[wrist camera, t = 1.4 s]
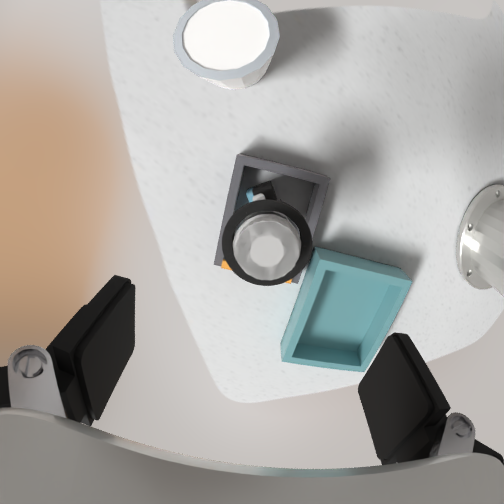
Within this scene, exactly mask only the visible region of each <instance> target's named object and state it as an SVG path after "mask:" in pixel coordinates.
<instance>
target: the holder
mask: <svg viewBox="0 0 504 504" xmlns="http://www.w3.org/2000/svg"><path fill="white" fill-rule="evenodd" d="M245 166H250V167H254V168H258V169H262V170H267V171H271V172H275V173H279V174H283V175H287V176H291V177H294V178H298V179H302V180H306V181H309V182H313V183H315V185H314V189H313V192H312V196H311V200H310V203H309V207H308V210H307V213H306V217H305V220H306V222H307V224H308V226H309V228H310V231H311V235H312V238H313V235H314V232H315V229H316V226H317V222H318V219H319V216H320V212H321V209H322V206H323V202H324V199H325V195H326V192H327V188H328V185H329V181H330V178H329V177H327V176H325V175H322V174H318V173H315V172H311V171H308V170H304V169H300V168H297V167H293V166H289V165H285V164H281V163H277V162H273V161H269V160H265V159H261V158H256V157H252V156H248V155H243V154H237V157H236V161H235V165H234V170H233V174H232V179H231V183H230V188H229V193H228V197H227V202H226V207H225V211H224V216H223V221H222V226H221V231H220V236H219V241H218V246H217V251H216V256H215V261H214V265H218V266H221V268H224V269H228V270H231V268H230V267H229V266H228V264H227V262H226V260H225V258H224V255H223V251H222V235H223V231H224V228H225V226H226V224H227V222H228V220H229V219H230V217H231V216H232V215H233V214H234V212H235V207H236V203H237V198H238V194H239V189H240V185H241V180H242V176H243V172H244V167H245ZM301 273H302V271H301V272H300V273H299V274H298V275H296V276H295V277H294V278H292V279H291V280H289V281H287V282H286V283H290V284H291V282H293V283H297V284H298V282H299V279H300V276H301Z"/></svg>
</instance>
